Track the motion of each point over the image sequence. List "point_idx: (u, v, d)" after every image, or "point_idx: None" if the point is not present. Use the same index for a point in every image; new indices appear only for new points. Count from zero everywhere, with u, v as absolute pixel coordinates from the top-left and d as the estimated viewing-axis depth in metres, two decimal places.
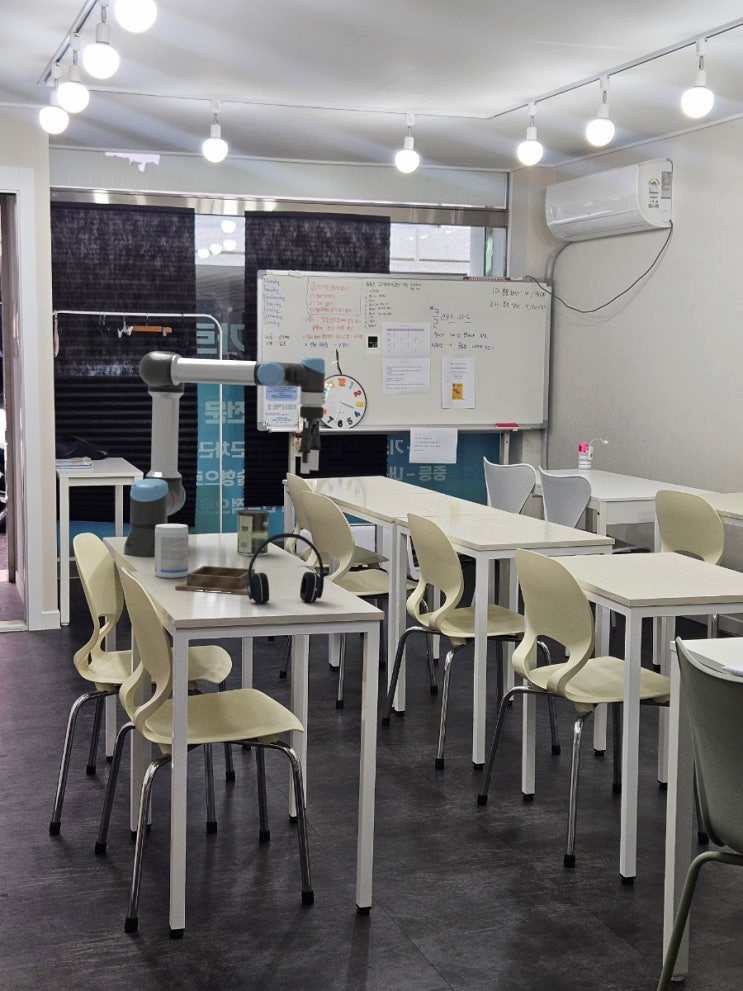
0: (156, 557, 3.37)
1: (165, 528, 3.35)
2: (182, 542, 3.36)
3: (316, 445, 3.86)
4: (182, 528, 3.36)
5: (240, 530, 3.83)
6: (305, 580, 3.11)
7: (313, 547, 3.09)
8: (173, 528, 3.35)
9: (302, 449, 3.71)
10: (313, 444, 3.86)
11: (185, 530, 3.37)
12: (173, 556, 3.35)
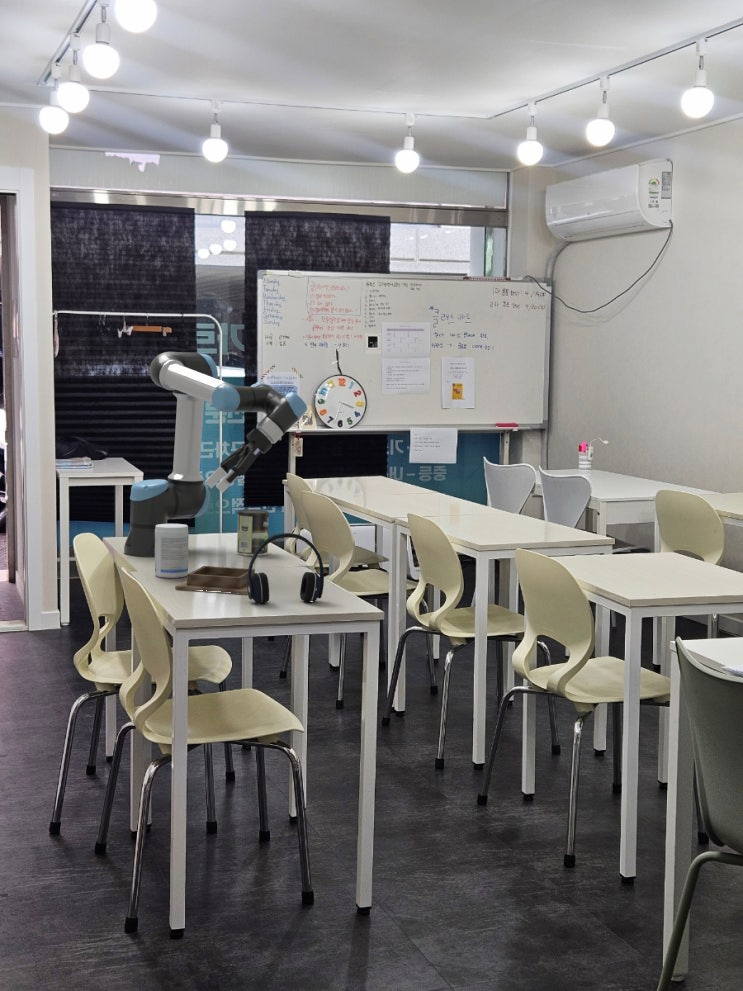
0: (156, 557, 3.37)
1: (165, 528, 3.35)
2: (182, 542, 3.36)
3: (229, 467, 3.50)
4: (182, 528, 3.36)
5: (240, 530, 3.83)
6: (305, 580, 3.11)
7: (313, 547, 3.09)
8: (173, 528, 3.35)
9: (240, 470, 3.34)
10: (228, 464, 3.49)
11: (185, 530, 3.37)
12: (173, 556, 3.35)
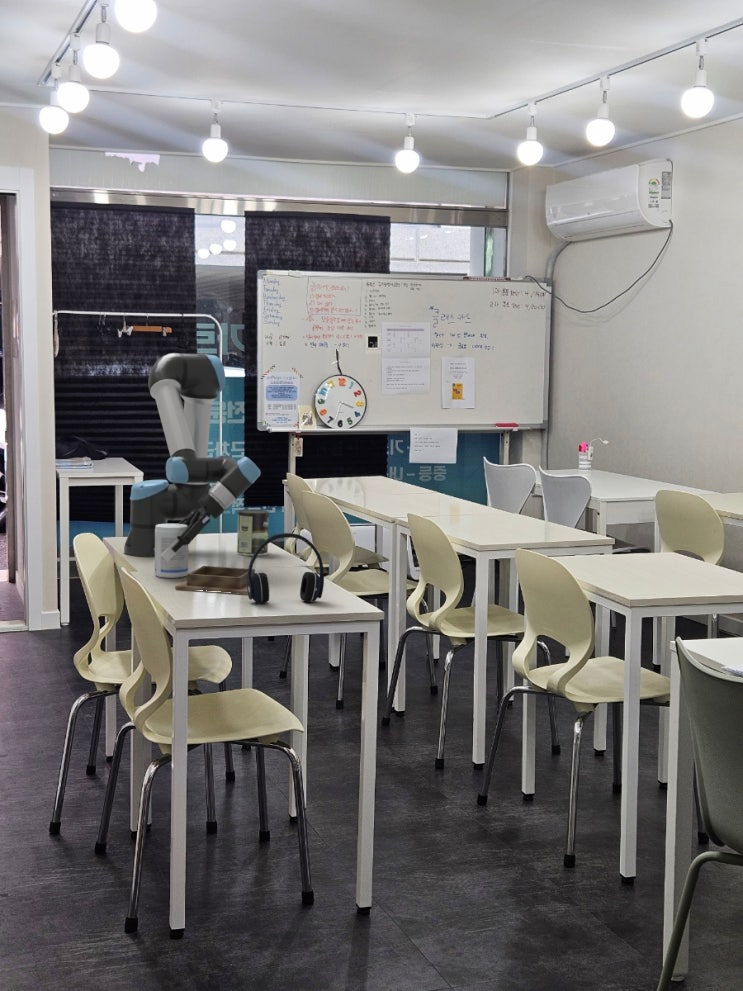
0: (156, 557, 3.37)
1: (165, 528, 3.35)
2: None
3: None
4: (182, 528, 3.36)
5: (240, 530, 3.83)
6: (305, 580, 3.11)
7: (313, 547, 3.09)
8: (173, 528, 3.35)
9: (185, 539, 3.32)
10: None
11: None
12: (173, 556, 3.35)
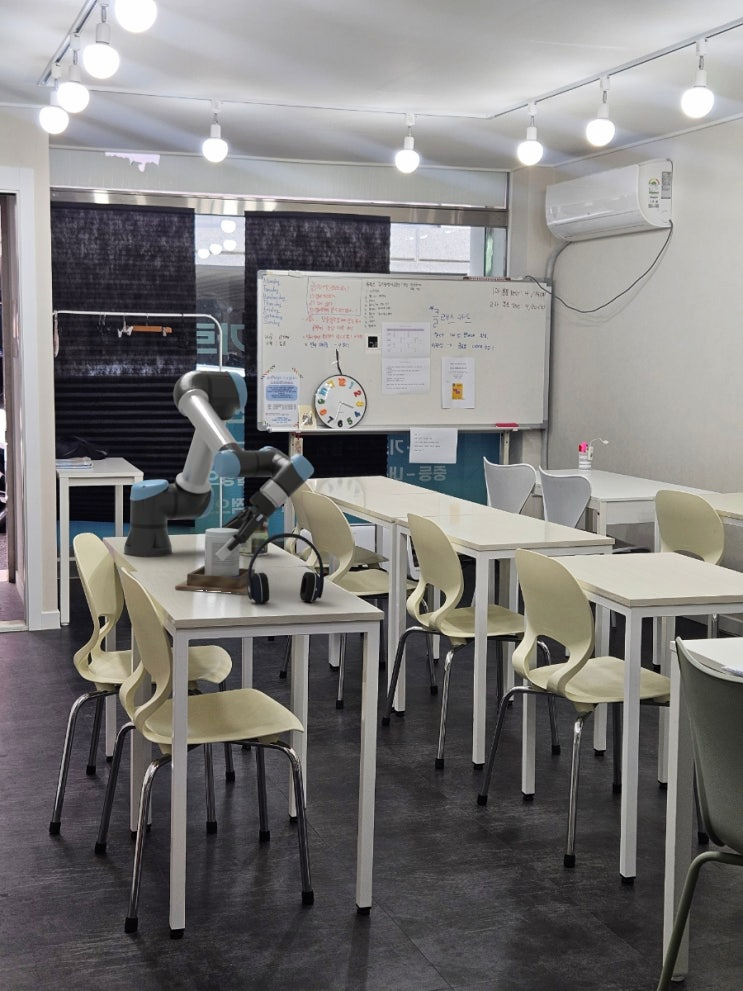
0: (206, 563, 3.25)
1: (216, 533, 3.22)
2: None
3: None
4: (233, 533, 3.24)
5: None
6: (305, 580, 3.11)
7: (313, 547, 3.09)
8: (224, 533, 3.22)
9: (241, 538, 3.18)
10: None
11: None
12: (225, 561, 3.23)
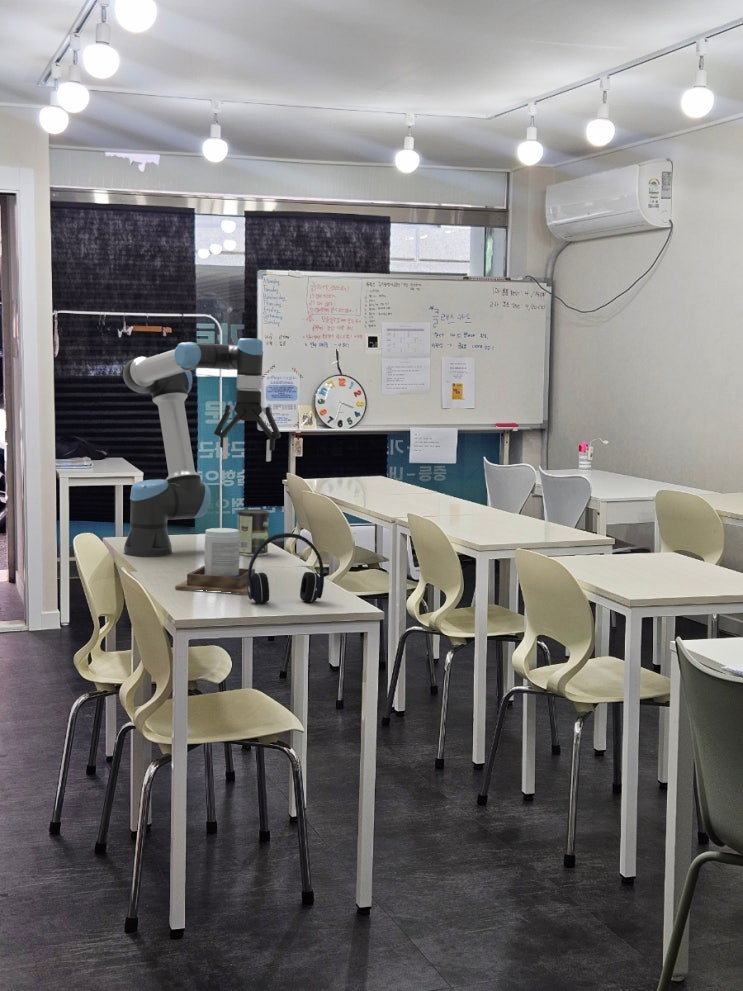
0: (206, 563, 3.25)
1: (216, 533, 3.22)
2: (233, 547, 3.24)
3: (228, 432, 3.59)
4: (233, 533, 3.24)
5: (240, 530, 3.83)
6: (305, 580, 3.11)
7: (313, 547, 3.09)
8: (224, 533, 3.22)
9: (279, 436, 3.55)
10: (228, 431, 3.58)
11: (236, 535, 3.25)
12: (225, 561, 3.23)
